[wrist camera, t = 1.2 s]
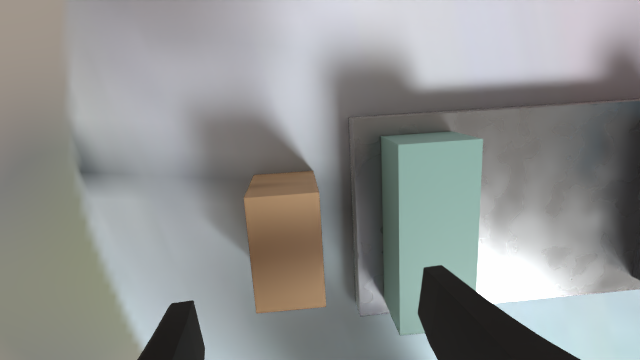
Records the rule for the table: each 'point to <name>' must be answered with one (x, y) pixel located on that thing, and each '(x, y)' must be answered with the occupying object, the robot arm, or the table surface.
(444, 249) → the block
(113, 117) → the table surface
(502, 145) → the vise
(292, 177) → the walnut block
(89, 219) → the table surface
